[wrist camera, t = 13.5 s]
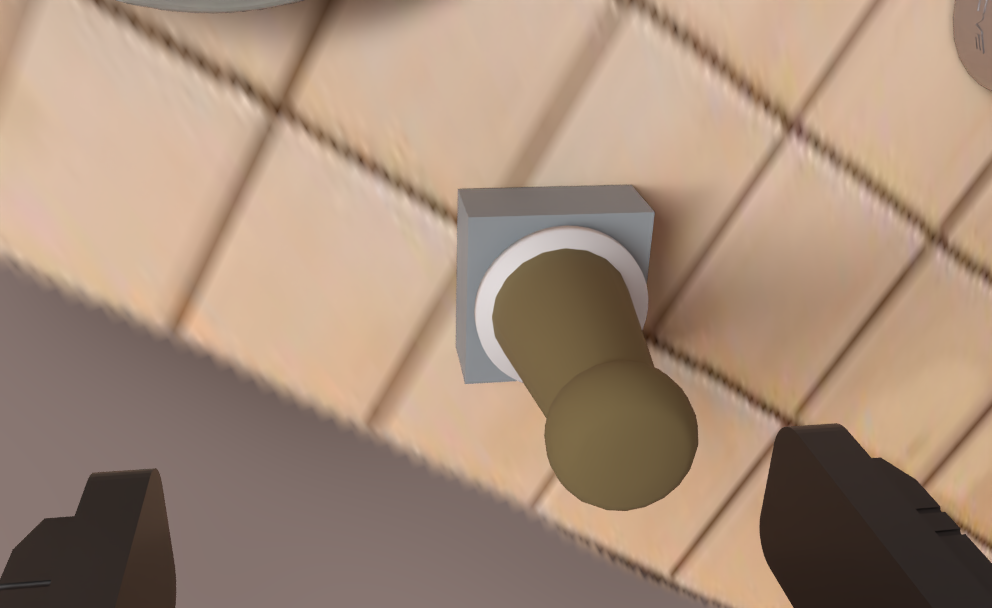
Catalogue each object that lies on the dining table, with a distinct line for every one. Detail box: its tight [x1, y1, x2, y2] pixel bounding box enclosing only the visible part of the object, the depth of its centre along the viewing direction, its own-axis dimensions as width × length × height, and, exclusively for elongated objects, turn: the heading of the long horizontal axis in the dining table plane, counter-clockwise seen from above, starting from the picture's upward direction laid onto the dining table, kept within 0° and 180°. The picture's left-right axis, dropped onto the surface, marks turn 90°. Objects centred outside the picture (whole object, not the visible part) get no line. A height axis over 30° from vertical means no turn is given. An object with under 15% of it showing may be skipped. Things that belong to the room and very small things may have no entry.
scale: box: [456, 185, 655, 384], centre depth 43 cm, size 8×8×5 cm
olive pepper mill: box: [492, 248, 698, 511], centre depth 36 cm, size 6×6×11 cm
